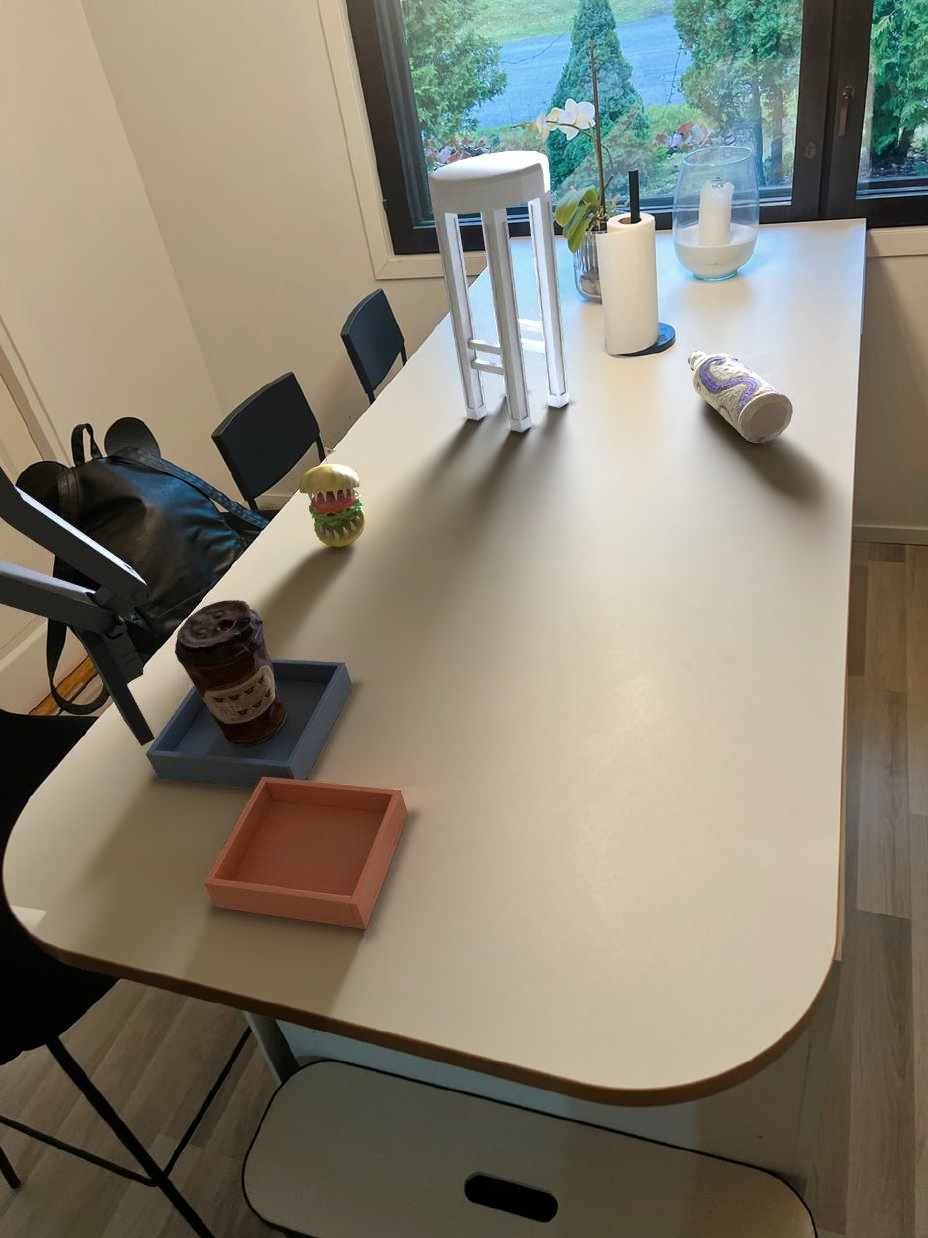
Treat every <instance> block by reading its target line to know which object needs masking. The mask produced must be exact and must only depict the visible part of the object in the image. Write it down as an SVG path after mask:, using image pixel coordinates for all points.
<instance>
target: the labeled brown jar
mask: <svg viewBox="0 0 928 1238" xmlns="http://www.w3.org/2000/svg"><path fill="white" fill-rule="evenodd" d="M264 621H265V620H264V619H263V618H262V617H261V615H260V613H259V612H258V611H256V610H255V609H254V608H250V605H249V604H247V602H246V601H245V600H239V599H228V600H221V601H216V602H213V603H210V604H208V605H204V606H202V607H201V608H200V609H198V610H197V611H195V612H194V613H193V614H192V615H190V616H188V617H187V619H186V620H185V622H184V623H183V624H182V626H181V627H180V628H179V629H178V631H177V635H176V640H175V641H176V642H175V645H174V646H175V647H174V648H175V649H174V654H175V656H176V660H177V661H178V662H179V663H180V664H181V665H182V668H183V669H184V670H185V672H186V673H187V675H188V677H189V679H190V680H191V683H192V685H193V686H194V685H195V687H196V689H197V691H198V693H199V695H200V696H201V698H202V699H203V700H204V702H205V703H206V705H207V706H208V708H209V711H210V713H211V715H212V717H213V719H214V720H215V722H216V723H217V724H218V726H219V727H220V728H221V730H222V731H223V733H224V736H225V738H226V739H227V740H228V741H229V742H231V743H233V744H236V745H240V746H246V745H252V744H256V743H259V742H262V741H264V740H266V739H268V738H269V737H271V736H272V735H274V734H275V733H276V732H277V731H278V730H279V729H280V728H281V727H282V726H283V724H284V723H285V719H286V717H287V712H286V710H285V708H284V705H283V704H282V702H281V700H280V699H279V697H278V689H277V687H276V684H275V681H274V670H273V666H272V660H271V659H272V658H271V656H270V652H269V650H268V647H267V644H266V640H265V637H264V632H265V630H264V629H265V628H264Z"/></svg>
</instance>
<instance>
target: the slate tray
mask: <svg viewBox="0 0 928 1238" xmlns="http://www.w3.org/2000/svg"><path fill="white" fill-rule="evenodd" d="M271 660H272V666H273V670H274V681H275V684H276V687H277V689H278V697H279V699H280V700H281V702H282V704H283V705H284V708H285V710H286V712H287V717H286V719H285V723H284V724H283V726H282V727H281V728H280V729H279V730H278V731H277V732H276V733H275V734H274V735H272V736H271V737H269V738H268V739H266V740H264V741H262V742H259V743H256V744H252V745H246V746H240V745H236V744H233V743H231V742H229V741H228V740H227V739H226V738H225V736H224V733H223V731H222V730H221V728H220V727H219V726H218V724H217V723H216V722H215V720H214V719H213V717H212V715H211V713H210V711H209V708H208V706H207V705H206V703H205V702H204V700H203V699H202V698H201V696H200V695H199V693H198V691H197V689H196V687H195V685H194V684H193V686H192V687H191V688H190V689H189V691H188V692H187V694H186V696H185V697H184V698H183V699H182V700H181V702H180V704H179V706H177V709H175V711H174V713H173V714H172V715H171V717H170V719H169V720H168V721H167V723H166V724H165V726H163V728H162V730H160V732H159V734H158V736H157V737H155V739H154V740H153V742H152V744H151V746H150V747H149V748H148V749H147V751H146V752H145V757H146V758H147V760H148V762H149V764H150V765H151V767H152V769H153V771H154V772H155V775H156V777H157V778H159V779H170V780H178V781H179V780H180V781H189V782H200V783H209V784H219V785H231V786H239V787H251V788H256V787H257V785H258V783H259V782H260V780H261V778H262V777H271V778H281V779H291V780H302V781H307V778H308V777H309V774H310V773H311V770H312V768H313V767H314V764H315V763H316V761H317V759H318V756H319V755H320V752H321V750H322V748H323V747H324V744H325V742H326V741H327V738H328V737H329V735H330V733H331V731H332V729H333V727H334V725H335V722H336V721H337V718H338V717H339V714H340V713H341V710H342V708H343V707H344V705H345V703H346V700H347V699H348V697H349V694H350V693H351V691H352V689H353V683H352V680H351V677H350V673H349V670H348V667H347V663H346V662H342V661H325V660H324V661H322V660H306V659H305V660H304V659H286V658H285V659H282V658H271Z"/></svg>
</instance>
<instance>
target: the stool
mask: <svg viewBox="0 0 928 1238" xmlns="http://www.w3.org/2000/svg"><path fill="white" fill-rule="evenodd" d="M547 157H548V156H546V155H545V154H542V153H539V152H537V151H535V150H509V151H503V152H494V153H486V154H481V155H477V156H473V157H468V158H463V159H460V160H457V161H454V162H451V163H448V164H445V165H443V166H440V167H438V168H437V169H436V170H435V171H433V172H432V173H431V174H430V175H429V176H428V178H427V181H428V182H427V183H428V189H429V196H430V201H431V207H432V213H433V220H434V225H435V231H436V237H437V238H436V239H437V243H438V249H439V256H440V261H441V267H442V273H443V279H444V285H445V286H444V287H445V292H446V298H447V303H448V309H449V315H450V321H451V322H450V323H451V327H452V333H453V338H454V345H455V352H456V358H457V364H458V369H459V376H460V381H461V382H460V383H461V387H462V393H463V399H464V406H465V412H466V418H467V419H470V420H474V421H479V420H481V419H483V418H485V417H486V416H487V415H488V409H487V402H486V397H485V391H484V390H485V389H484V384H483V377H482V372H486V373H490V374H495V375H499V376H502V381H503V387H504V395H505V396H506V405H507V412H508V418H509V425H510V430H511V431H515V432H518V433H523V432H525V431H526V430H528V429H530V428H531V427H532V426H533V425H532V415H531V407H530V401H529V391H528V383H527V374H526V367H525V365H526V364H525V360H524V359H525V358H524V357H525V356H524V350H525V351H530V352H536V353H540V354H542V355H543V363H544V373H545V382H546V391H547V402H548V406H550V407H554V408H558V409H560V408H563V406H565V405H566V404H568V403H569V402H570V396H569V386H568V375H567V364H566V354H565V353H566V352H565V341H564V328H563V317H562V307H561V296H560V286H559V283H560V282H559V273H558V261H557V249H556V238H555V227H554V226H555V225H554V216H553V205H552V194H551V182H550V171H549V170H550V169H549V159H548V158H547ZM524 204H527V208H528V218H529V228H530V236H531V237H530V238H531V245H532V246H531V247H532V257H533V265H534V266H533V267H534V274H535V277H534V278H535V285H536V294H537V303H538V314H539V321H533V320H529V319H521V318H520V316H519V315H520V314H519V308H518V307H519V306H518V299H517V290H516V283H515V282H516V281H515V274H514V273H515V272H514V267H513V256H512V247H511V240H510V232H509V224H508V223H509V222H508V214H507V208H512V207H516V206H519V205H520V206H521V205H524ZM478 213H480V217H481V218H480V219H481V226H482V233H483V241H484V247H485V253H486V254H485V255H486V256H485V257H486V261H487V262H486V263H487V269H488V277H489V285H490V293H491V300H492V306H493V307H492V308H493V314H494V315H493V316H494V321H495V331H496V337H497V343H496V342H492V341H491V342H490V341H485V340H480V339H477V338H476V331H475V323H474V317H473V310H472V303H471V297H470V290H469V283H468V277H467V269H466V264H465V257H464V250H463V245H462V243H463V242H462V237H461V230H460V223H459V218H458V215H469V214H478ZM521 331H528V332H532V333H538V334H540V335H541V341H536V340H532V339H531V340H530V339H525V338H522V333H521ZM479 352H483V353H488V354H492V355H497V356H499V359H500V363H497V362H491V361H487V360H483V359H480V357H479V356H480V355H479Z"/></svg>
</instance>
